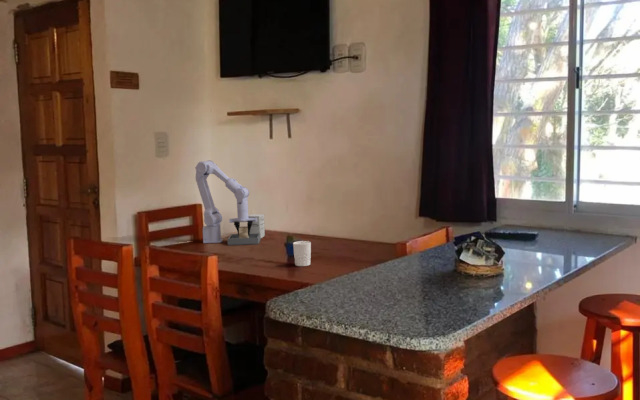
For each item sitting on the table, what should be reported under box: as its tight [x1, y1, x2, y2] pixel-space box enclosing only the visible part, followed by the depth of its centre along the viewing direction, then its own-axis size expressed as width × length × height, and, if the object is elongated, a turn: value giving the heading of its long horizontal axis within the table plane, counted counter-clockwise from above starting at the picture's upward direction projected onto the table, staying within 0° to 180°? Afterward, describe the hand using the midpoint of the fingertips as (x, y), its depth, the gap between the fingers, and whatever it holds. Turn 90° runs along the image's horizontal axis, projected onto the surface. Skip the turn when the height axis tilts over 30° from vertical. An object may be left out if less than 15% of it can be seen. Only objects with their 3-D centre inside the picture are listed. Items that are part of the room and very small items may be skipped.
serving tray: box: [227, 233, 262, 246], centre depth 350 cm, size 16×14×4 cm
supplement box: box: [248, 213, 266, 239], centre depth 364 cm, size 7×7×13 cm
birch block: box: [239, 225, 249, 238], centre depth 348 cm, size 4×4×6 cm
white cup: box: [292, 240, 312, 267], centre depth 290 cm, size 8×8×10 cm
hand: (244, 235), depth 348 cm, fingers closed on birch block, 4 cm apart
